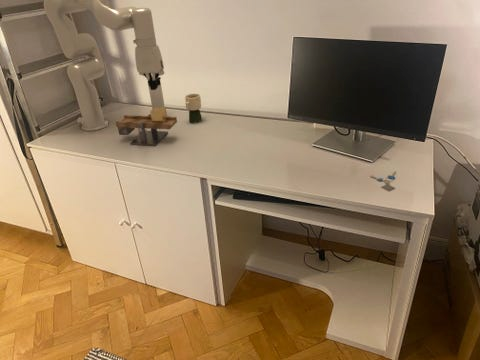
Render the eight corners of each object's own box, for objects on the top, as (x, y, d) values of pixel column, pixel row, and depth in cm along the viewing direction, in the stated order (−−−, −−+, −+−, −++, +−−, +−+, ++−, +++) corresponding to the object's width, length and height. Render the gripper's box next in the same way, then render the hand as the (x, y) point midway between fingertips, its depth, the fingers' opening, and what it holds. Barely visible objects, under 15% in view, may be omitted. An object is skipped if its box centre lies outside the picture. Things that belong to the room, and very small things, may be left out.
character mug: (196, 116, 188) (193, 91, 182) (207, 118, 185) (205, 93, 178) (183, 124, 180) (179, 98, 174) (194, 126, 177) (191, 99, 171)
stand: (130, 145, 162) (125, 124, 157) (144, 132, 174) (140, 113, 169) (155, 146, 159) (151, 125, 155) (168, 133, 171) (165, 113, 166)
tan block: (152, 124, 159) (150, 111, 156) (157, 120, 164) (155, 107, 161) (163, 124, 158) (161, 111, 155) (167, 120, 163) (165, 107, 160)
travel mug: (165, 118, 189) (159, 79, 179) (152, 119, 189) (145, 79, 179) (167, 114, 194) (161, 75, 184) (155, 114, 194) (148, 76, 184)
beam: (118, 135, 164) (115, 122, 161) (127, 128, 171) (124, 115, 168) (171, 138, 159) (169, 124, 156) (178, 130, 166) (176, 116, 163)
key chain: (394, 193, 119) (395, 191, 118) (367, 189, 121) (368, 187, 121) (396, 172, 130) (396, 170, 129) (371, 169, 132) (371, 167, 132)
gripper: (124, 44, 143) (133, 91, 152) (160, 44, 140) (167, 92, 149) (133, 41, 149) (141, 86, 158) (167, 40, 146) (174, 86, 155)
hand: (154, 89), depth 154 cm, fingers closed
